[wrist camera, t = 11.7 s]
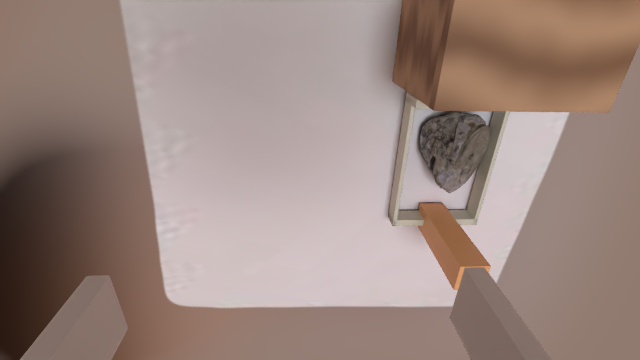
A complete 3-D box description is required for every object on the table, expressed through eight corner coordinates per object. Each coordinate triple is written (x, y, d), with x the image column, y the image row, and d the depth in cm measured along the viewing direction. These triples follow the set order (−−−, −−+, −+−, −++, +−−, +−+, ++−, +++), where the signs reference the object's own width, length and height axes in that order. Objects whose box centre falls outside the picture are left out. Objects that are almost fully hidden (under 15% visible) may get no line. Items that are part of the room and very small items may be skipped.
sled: (406, 92, 41) (452, 126, 29) (502, 93, 41) (586, 127, 29) (387, 223, 50) (416, 290, 38) (466, 222, 50) (519, 288, 38)
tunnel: (402, -3, 36) (456, -10, 24) (541, 2, 37) (659, -3, 25) (392, 81, 40) (433, 110, 28) (517, 83, 41) (609, 112, 29)
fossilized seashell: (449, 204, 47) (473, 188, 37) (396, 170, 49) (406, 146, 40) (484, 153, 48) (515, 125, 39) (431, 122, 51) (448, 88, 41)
